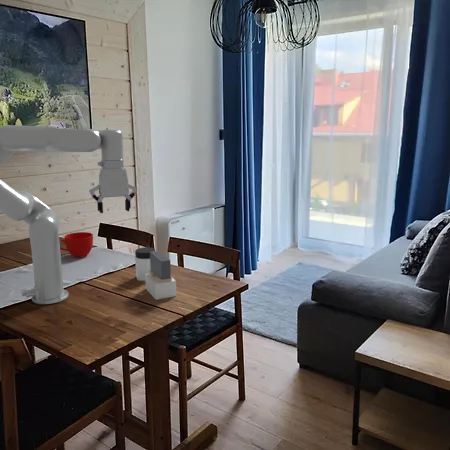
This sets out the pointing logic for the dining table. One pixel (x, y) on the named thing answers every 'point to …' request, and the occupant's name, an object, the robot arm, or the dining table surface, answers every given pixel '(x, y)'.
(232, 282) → the dining table surface
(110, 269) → the dining table surface
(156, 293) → the white toaster
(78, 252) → the ceramic cup
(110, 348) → the dining table surface
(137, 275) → the jar
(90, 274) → the dining table surface
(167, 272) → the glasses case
